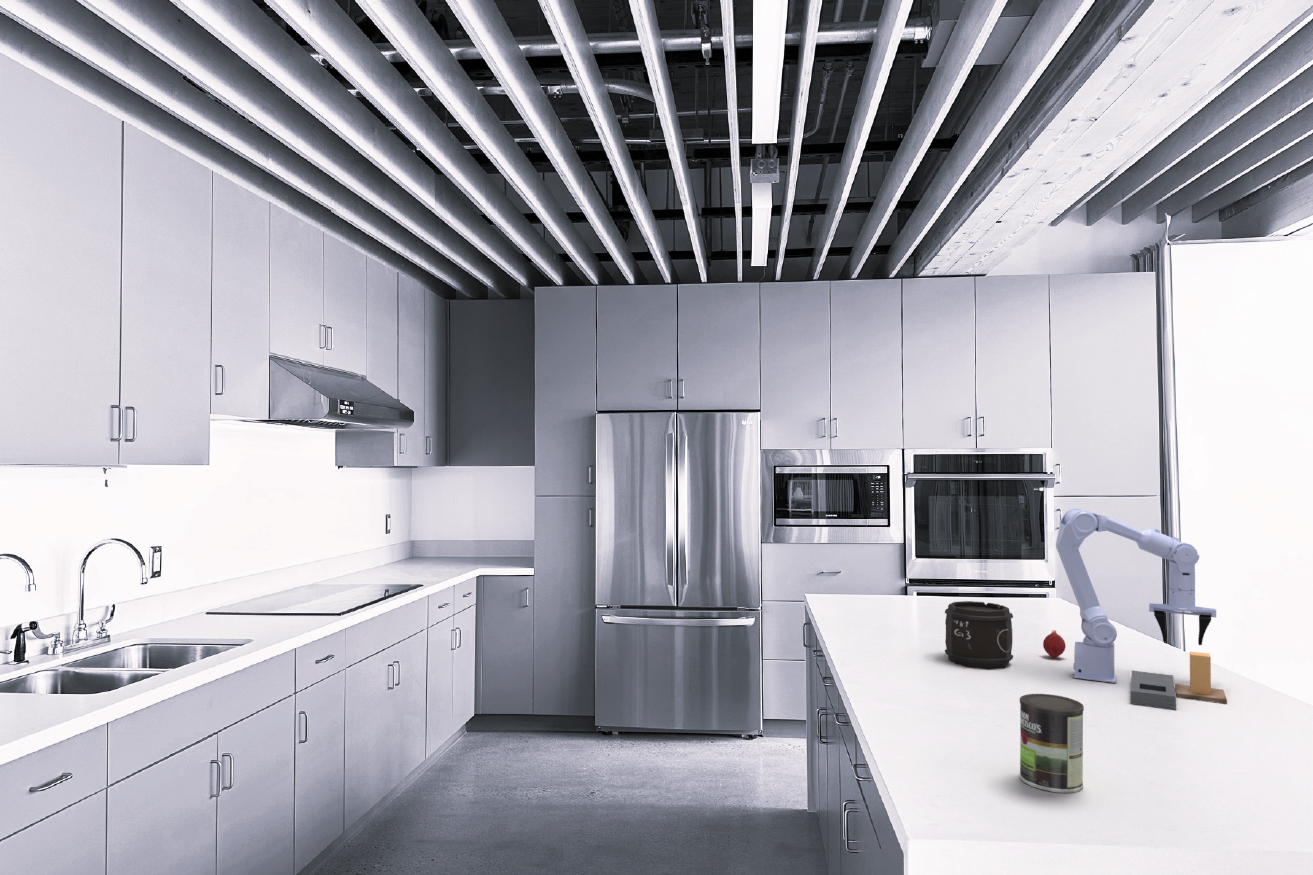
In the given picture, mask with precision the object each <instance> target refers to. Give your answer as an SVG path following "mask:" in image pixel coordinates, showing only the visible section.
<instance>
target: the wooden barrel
mask: <svg viewBox="0 0 1313 875" xmlns="http://www.w3.org/2000/svg"><path fill="white" fill-rule="evenodd" d="M944 614H945V648H946V649H945V650H944V652H945V655H946V656H947V659H948V661H950V662H952V664H954V665H957V666H961V667H966V668H972V669H982V670H994V669H995V670H997V669H1005V668H1006V667H1007V666H1009V664H1010V661H1012V660H1013V658H1014V655H1013V654H1012V650H1013V623H1012V619H1013V618H1014V614H1013V613H1012V612H1010V608H1009V607H1008V606H1005V605H1003V604H999V603H995V602H994V603H993V602H987V603H985V602H984V601H973V600H969V601H968V600H966V601H965V600H964V601H954V602H953V601H952V602H951V603H949V604H948V606H947V608H946V609H945V610H944Z"/></svg>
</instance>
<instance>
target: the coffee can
mask: <svg viewBox="0 0 1313 875" xmlns="http://www.w3.org/2000/svg"><path fill="white" fill-rule="evenodd" d="M1019 704H1020V707H1019V708H1020V709H1019V710H1020V720H1019V721H1020V724H1019V726H1020V730H1019V731H1020V737H1019V739H1020V740H1019V741H1020V742H1019V743H1020V747H1019V748H1020V750H1019V751H1020V752H1019V753H1020V758H1019V759H1020V760H1019V766H1020V767H1019V779H1020V780H1021V781H1022V782H1023V783H1024V784H1025V785H1028V786H1030V787H1032V788H1035V789H1038V790H1042V791H1045V792H1050V793H1057V794H1072V793H1073V794H1074V793H1078V792H1080V791H1082V790H1083V789H1084V781H1083V780H1084V779H1083V777H1084V774H1083V772H1084V770H1083V767H1084V762H1083V761H1084V760H1083V759H1084V756H1083V755H1084V751H1083V750H1084V749H1083V747H1084V744H1083V743H1084V741H1083V740H1084V735H1083V734H1084V710H1085V708H1084V707H1085V705H1084V704H1082V703H1081V702H1080V701H1078V700H1076V699H1073V698H1071V697H1067V696H1066V697H1065V696H1062V695H1055V694H1049V693H1048V694H1047V693H1029V694H1024V695H1021V696H1020V697H1019Z"/></svg>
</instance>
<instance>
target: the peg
mask: <svg viewBox="0 0 1313 875" xmlns="http://www.w3.org/2000/svg"><path fill="white" fill-rule="evenodd" d="M1211 660H1212V658H1211V655H1210V652H1209V653H1207V652H1199V651H1198V652H1197V651H1196V652H1195V651H1189V685H1190V690H1191V692H1193V693H1201V694H1209V695H1211V688H1212V687H1211V686H1212V682H1211V680H1212V679H1211V678H1212V677H1211V675H1212V673H1211V669H1212V668H1211V664H1212V663H1211V662H1212V661H1211Z"/></svg>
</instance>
